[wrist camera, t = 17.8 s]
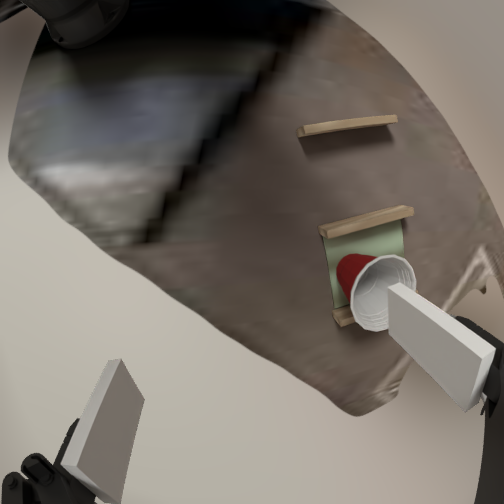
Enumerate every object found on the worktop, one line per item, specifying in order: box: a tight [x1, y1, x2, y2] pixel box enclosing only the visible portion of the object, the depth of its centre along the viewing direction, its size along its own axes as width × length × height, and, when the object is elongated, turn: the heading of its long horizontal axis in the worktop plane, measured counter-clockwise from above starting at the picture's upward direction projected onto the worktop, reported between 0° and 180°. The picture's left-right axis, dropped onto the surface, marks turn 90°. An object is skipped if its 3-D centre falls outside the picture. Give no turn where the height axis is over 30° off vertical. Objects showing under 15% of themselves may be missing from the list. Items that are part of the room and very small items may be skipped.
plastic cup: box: [336, 253, 416, 332], centre depth 41 cm, size 11×11×12 cm
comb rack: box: [296, 115, 418, 327], centre depth 43 cm, size 32×16×4 cm, turn 14°
